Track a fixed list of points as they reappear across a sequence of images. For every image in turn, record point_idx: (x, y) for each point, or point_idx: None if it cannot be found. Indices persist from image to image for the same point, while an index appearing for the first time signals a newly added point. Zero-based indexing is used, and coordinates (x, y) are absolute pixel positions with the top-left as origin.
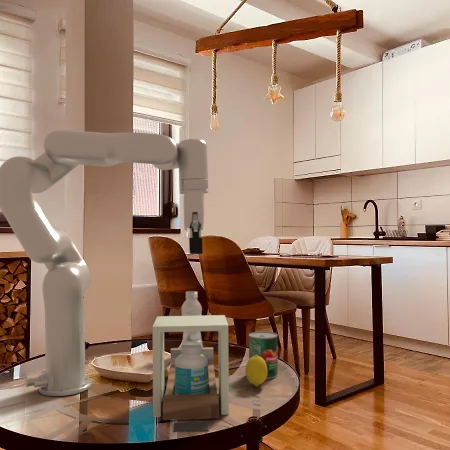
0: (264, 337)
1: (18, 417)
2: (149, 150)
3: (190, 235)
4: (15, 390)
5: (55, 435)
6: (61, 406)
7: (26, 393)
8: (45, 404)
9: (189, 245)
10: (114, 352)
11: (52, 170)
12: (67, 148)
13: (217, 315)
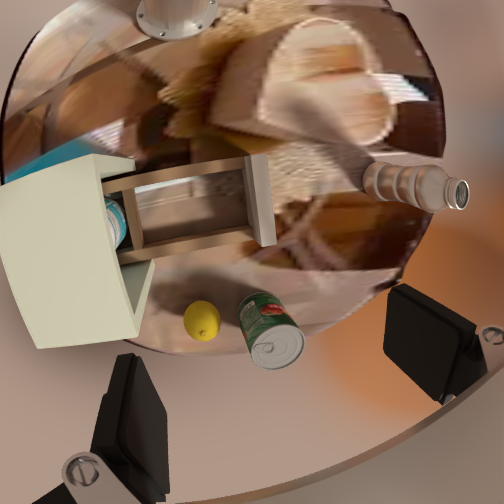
0: (262, 352)
1: (70, 16)
2: None
3: (63, 474)
4: None
5: (18, 87)
6: (99, 39)
7: None
8: (109, 17)
9: (424, 304)
10: (374, 48)
11: None
12: None
13: (128, 320)
